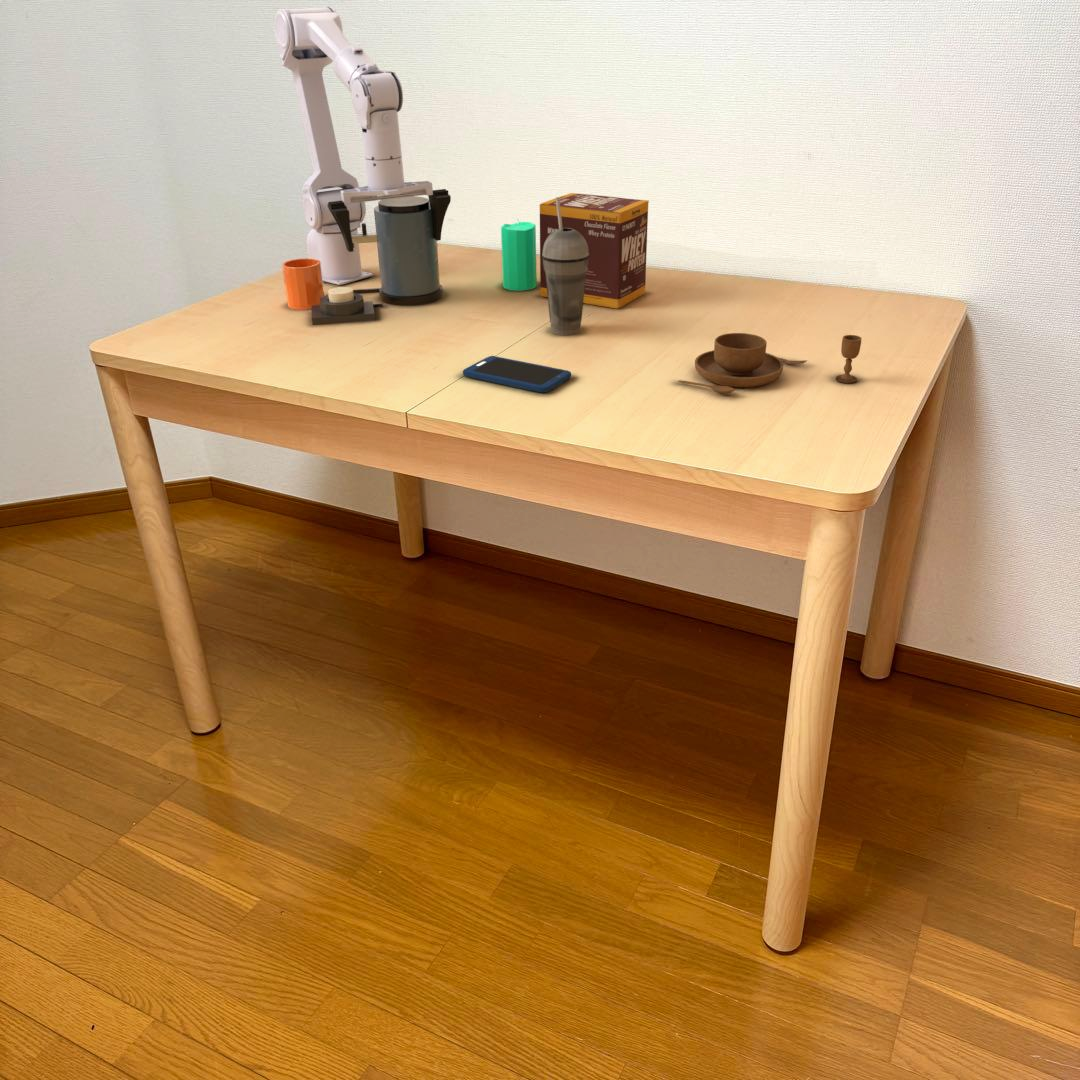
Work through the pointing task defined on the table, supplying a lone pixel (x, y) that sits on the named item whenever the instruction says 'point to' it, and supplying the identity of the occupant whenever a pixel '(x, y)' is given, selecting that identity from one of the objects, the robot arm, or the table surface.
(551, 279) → the beverage cup
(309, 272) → the cup
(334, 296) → the button
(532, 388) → the cell phone
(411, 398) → the table surface
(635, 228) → the supplement box
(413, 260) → the dispenser
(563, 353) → the table surface
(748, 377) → the place setting
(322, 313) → the button block
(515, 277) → the candle
